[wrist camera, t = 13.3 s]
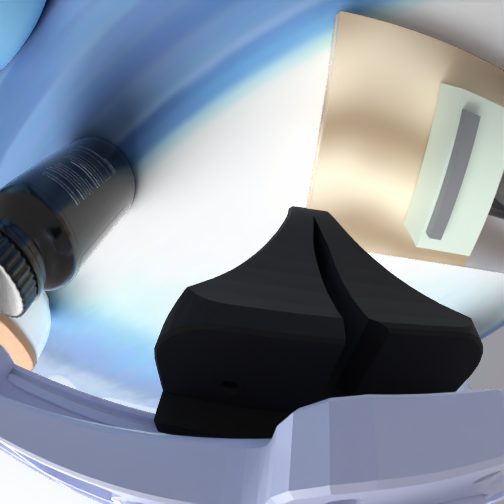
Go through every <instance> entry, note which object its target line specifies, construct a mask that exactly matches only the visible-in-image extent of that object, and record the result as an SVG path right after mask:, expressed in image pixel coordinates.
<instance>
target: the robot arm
mask: <svg viewBox="0 0 504 504" xmlns="http://www.w3.org/2000/svg"><path fill="white" fill-rule="evenodd" d="M154 350H155V362H156V366H157V370H158V374H159V377H160V381H161V385H162V389H163V392H162V395H161V398H160V402H159V405H158V408H157V411H156V414H154V413H150V412H146V411H142V410H138V409H135V408H131V407H127V406H124V405H121V404H117V403H114V402H111V401H108V400H105V399H102V398H99V397H96V396H93V395H90V394H87V393H84V392H81V391H78V390H76V389H73V388H70V387H68V386H65V385H62V384H60V383H57V382H55V381H52V380H50V379H48V378H45V377H43V376H40V375H38V374H36V373H33V372H31V371H29V370H27V369H25V368H22V367H20V366H18V365H16V364H14V361H13V359H12V358H11V356H10V354H9V353H8V352H7V350H6V349H5V348H4V347H3V346H2V345H1V344H0V450H2V451H4V452H5V453H7V454H8V455H10V456H11V457H13V458H14V459H16V460H18V461H19V462H21V463H23V464H24V465H26V466H28V467H29V468H31V469H33V470H34V471H36V472H38V473H40V474H42V475H43V476H45V477H47V478H49V479H51V480H53V481H55V482H57V483H59V484H61V485H63V486H65V487H67V488H69V489H71V490H73V491H75V492H77V493H79V494H82V495H84V496H86V497H88V498H91V499H93V500H95V501H98V502H100V503H103V504H495V503H496V502H498V501H501V500H503V499H504V390H497V389H482V390H473V391H472V389H471V386H470V383H469V380H468V378H469V376H470V375H471V374H472V373H473V371H474V370H475V369H476V367H477V366H478V364H479V362H480V360H481V357H482V354H483V345H482V342H481V340H480V337H479V335H478V333H477V331H476V328H475V326H474V324H473V322H472V320H471V318H469V317H467V316H465V315H463V314H461V313H459V312H456V311H454V310H452V309H450V308H448V307H446V306H443V305H441V304H439V303H438V302H436V301H434V300H432V299H430V298H429V297H427V296H425V295H423V294H422V293H420V292H418V291H417V290H415V289H413V288H412V287H410V286H409V285H407V284H406V283H404V282H403V281H401V280H400V279H399V278H397V277H396V276H394V275H393V274H392V273H390V272H389V271H388V270H387V269H385V268H384V267H383V266H382V265H380V264H379V263H378V262H377V261H376V260H374V259H373V258H372V257H371V256H370V255H369V254H368V253H367V252H366V251H365V250H364V249H363V248H362V247H361V246H360V245H359V244H358V243H357V242H356V241H355V240H354V239H353V238H352V237H351V236H350V235H349V234H348V233H347V232H346V231H345V230H344V228H343V227H342V226H341V225H340V224H339V223H338V222H337V221H336V219H335V218H334V217H333V216H332V215H331V214H330V213H329V212H328V211H322V210H315V209H308V208H301V207H294V206H292V207H291V208H289V211H288V215H287V217H286V219H285V221H284V222H283V224H282V225H281V227H280V228H279V230H278V231H277V232H276V234H275V235H274V236H273V237H272V238H271V239H270V240H269V242H268V243H267V244H266V245H265V246H264V247H263V248H262V249H260V250H259V251H258V252H257V253H256V254H255V255H253V256H252V257H251V258H249V259H248V260H247V261H245V262H244V263H242V264H241V265H239V266H238V267H236V268H234V269H232V270H231V271H229V272H226V273H224V274H222V275H220V276H218V277H215V278H213V279H210V280H207V281H204V282H201V283H199V284H196V285H193V286H189V287H187V288H186V289H185V290H184V292H183V293H182V295H181V296H180V297H179V299H178V300H177V302H176V303H175V305H174V307H173V308H172V310H171V311H170V313H169V315H168V317H167V319H166V320H165V323H164V325H163V327H162V330H161V333H160V335H159V338H158V340H157V343H156V345H155V348H154Z"/></svg>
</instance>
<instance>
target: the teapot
mask: <svg viewBox="0 0 504 504" xmlns="http://www.w3.org/2000/svg"><path fill="white" fill-rule="evenodd" d="M45 3H46V0H0V71H1V70H2V69H3V68H4V67H5V66H6V65H7V64H8V63H9V62H10V61H11V60H12V59H13V58H14V56H15V55H16V54H17V53H18V51H19V50H20V49H21V47H22V46H23V45H24V43H25V42H26V40H27V39H28V37H29V36H30V34H31V32H32V30H33V29H34V27H35V25H36V23H37V21H38V19H39V17H40V15H41V13H42V11H43V8H44V6H45Z"/></svg>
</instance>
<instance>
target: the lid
mask: <svg viewBox="0 0 504 504" xmlns="http://www.w3.org/2000/svg"><path fill="white" fill-rule="evenodd" d="M503 170H504V107H502V106H500V105H498V104H495V103H493V102H491V101H489V100H487V99H485V98H483V97H481V96H478V95H476V94H474V93H471V92H469V91H467V90H464V89H462V88H458V87H454V86H451V85H447V84H443V83H441V84H440V89H439V95H438V100H437V105H436V110H435V114H434V119H433V123H432V128H431V132H430V136H429V140H428V144H427V148H426V152H425V156H424V159H423V163H422V167H421V170H420V174H419V177H418V181H417V184H416V187H415V191H414V194H413V197H412V200H411V203H410V206H409V209H408V212H407V216H406V218H405V221H404V225H405V227H406V229H407V231H408V232H409V234H410V236H411V238H412V240H413V241H414V243H415V245H416V247H420V248H426V249H431V250H437V251H443V252H449V253H454V254H460V255H466V256H470V254H471V252H472V250H473V247H474V245H475V243H476V241H477V239H478V236H479V234H480V232H481V229H482V227H483V225H484V222H485V220H486V217H487V215H488V212H489V210H490V207H491V205H492V202H493V199H494V197H495V194H496V191H497V188H498V185H499V182H500V179H501V176H502V173H503Z"/></svg>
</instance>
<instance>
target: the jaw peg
mask: <svg viewBox="0 0 504 504" xmlns="http://www.w3.org/2000/svg"><path fill="white" fill-rule="evenodd" d="M495 199H496V200H497V201H498V202H500V203H501V204H502V205H503V206H504V171H503V174H502V178H501V181H500V183H499V186H498V189H497V192H496V195H495Z"/></svg>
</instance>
